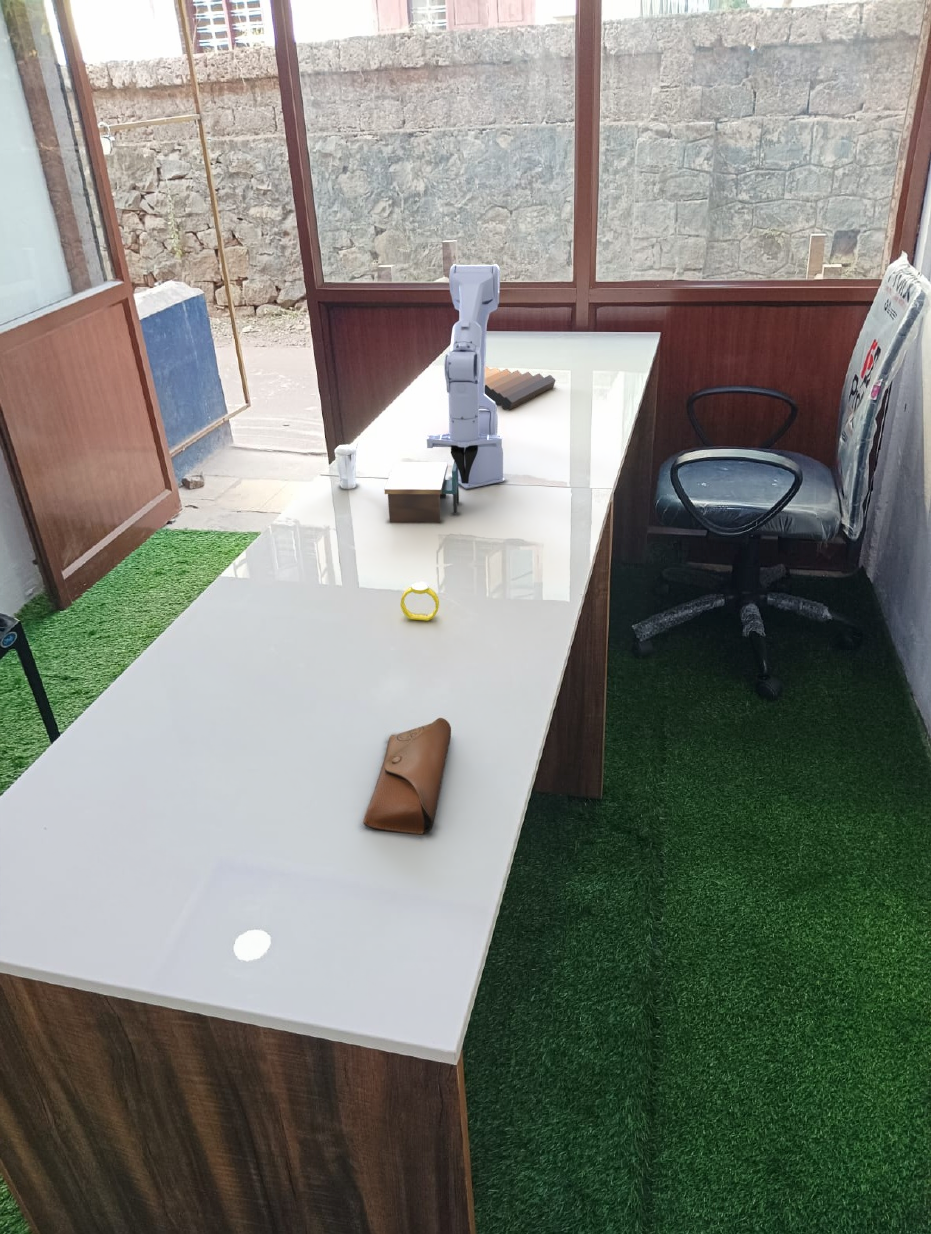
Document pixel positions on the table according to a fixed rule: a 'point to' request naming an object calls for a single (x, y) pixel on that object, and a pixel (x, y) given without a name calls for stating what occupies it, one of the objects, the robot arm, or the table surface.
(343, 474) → the milkshake
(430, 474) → the desk
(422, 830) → the sunglasses case
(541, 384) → the pan flute
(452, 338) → the robot arm
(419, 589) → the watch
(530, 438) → the table surface
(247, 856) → the table surface
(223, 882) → the table surface
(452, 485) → the chair
